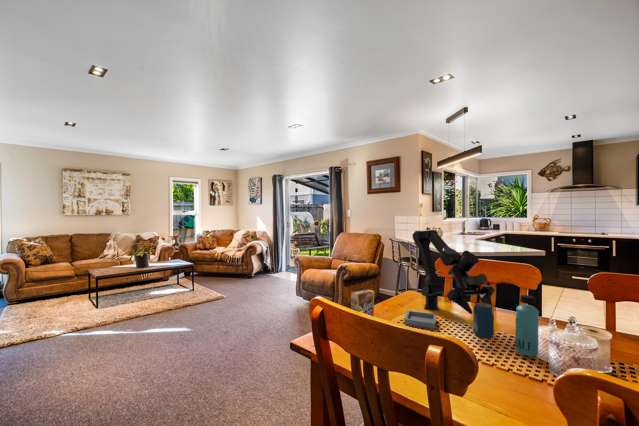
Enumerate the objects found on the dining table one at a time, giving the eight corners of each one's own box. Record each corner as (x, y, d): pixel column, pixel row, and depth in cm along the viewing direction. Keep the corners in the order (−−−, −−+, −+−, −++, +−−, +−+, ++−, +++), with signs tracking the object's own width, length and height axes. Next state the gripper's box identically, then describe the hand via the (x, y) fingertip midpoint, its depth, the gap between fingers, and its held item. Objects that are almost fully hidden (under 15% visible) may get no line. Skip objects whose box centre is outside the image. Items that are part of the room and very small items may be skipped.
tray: (407, 315, 136) (407, 310, 136) (435, 319, 132) (435, 313, 132) (404, 325, 125) (404, 319, 125) (435, 329, 121) (435, 323, 121)
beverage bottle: (534, 353, 101) (535, 294, 101) (541, 363, 95) (543, 299, 95) (512, 350, 104) (513, 292, 103) (517, 359, 97) (519, 297, 97)
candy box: (356, 334, 115) (357, 294, 115) (349, 330, 119) (350, 291, 119) (374, 329, 120) (374, 291, 120) (366, 325, 124) (367, 288, 124)
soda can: (496, 336, 115) (497, 305, 115) (488, 341, 111) (489, 308, 111) (478, 330, 120) (478, 300, 120) (469, 334, 116) (470, 303, 116)
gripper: (452, 267, 119) (472, 303, 108) (491, 266, 124) (514, 300, 113) (439, 282, 127) (457, 318, 116) (477, 281, 131) (497, 315, 121)
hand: (481, 312), depth 116 cm, fingers open, 9 cm apart
